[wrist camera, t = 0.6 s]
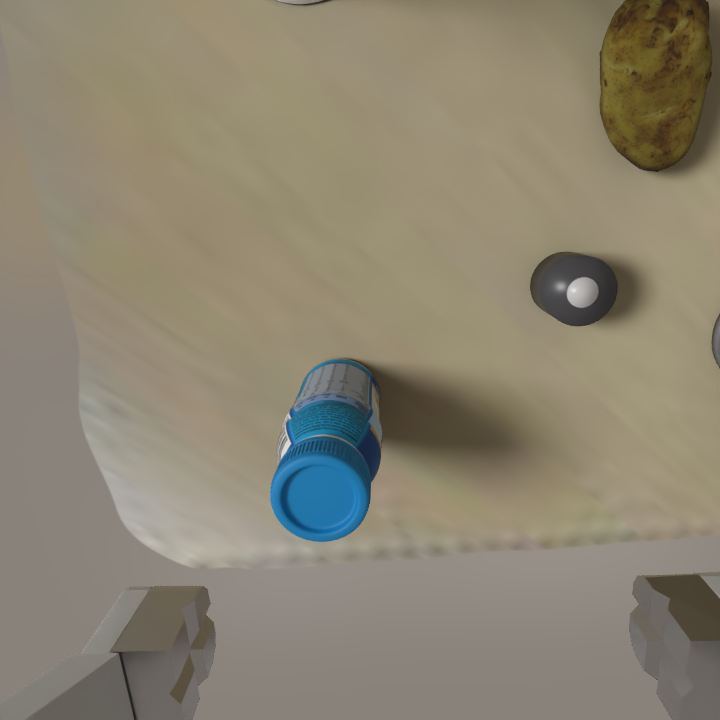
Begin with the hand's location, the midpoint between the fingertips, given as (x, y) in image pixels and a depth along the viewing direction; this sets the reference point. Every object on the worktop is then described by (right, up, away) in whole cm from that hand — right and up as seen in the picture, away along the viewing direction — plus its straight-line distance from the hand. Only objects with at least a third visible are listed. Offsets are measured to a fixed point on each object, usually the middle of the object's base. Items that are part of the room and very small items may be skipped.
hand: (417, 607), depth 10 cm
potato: (+22, +28, +35) cm, 50 cm away
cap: (+18, +12, +39) cm, 45 cm away
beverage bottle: (-3, +1, +44) cm, 44 cm away
